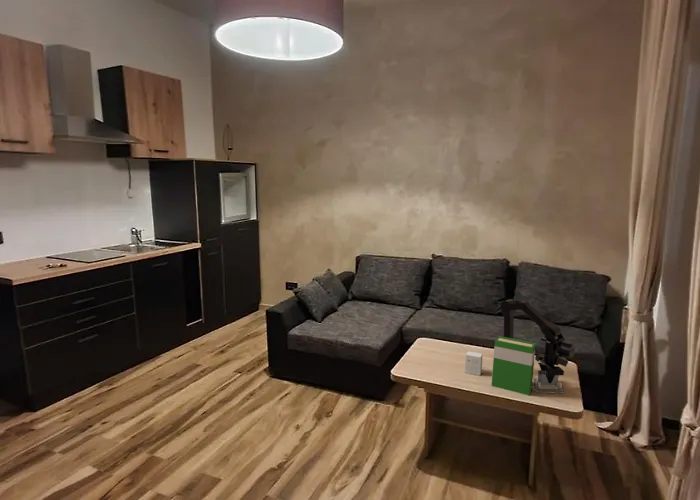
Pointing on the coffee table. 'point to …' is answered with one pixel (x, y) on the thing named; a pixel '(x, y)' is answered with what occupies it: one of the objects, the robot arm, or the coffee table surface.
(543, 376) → the drive
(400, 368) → the coffee table surface
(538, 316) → the robot arm
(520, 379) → the hardback book
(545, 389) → the panel with knobs
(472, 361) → the small box
